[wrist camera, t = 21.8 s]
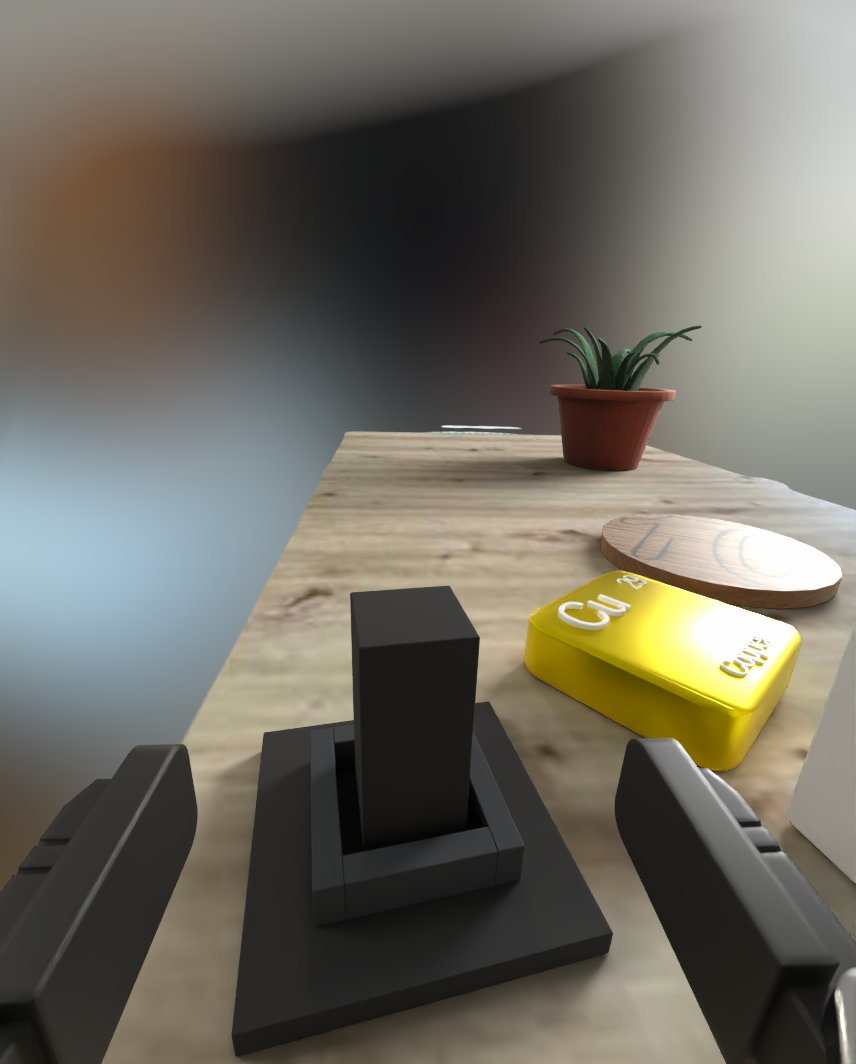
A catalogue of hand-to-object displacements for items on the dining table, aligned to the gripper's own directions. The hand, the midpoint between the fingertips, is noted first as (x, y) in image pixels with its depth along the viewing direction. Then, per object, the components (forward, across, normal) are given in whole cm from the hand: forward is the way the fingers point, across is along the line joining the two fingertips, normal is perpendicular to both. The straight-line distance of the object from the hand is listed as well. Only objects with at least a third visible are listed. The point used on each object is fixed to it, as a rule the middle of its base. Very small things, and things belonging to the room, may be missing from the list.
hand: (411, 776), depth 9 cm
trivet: (+46, -38, +15) cm, 61 cm away
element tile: (+23, -19, +15) cm, 34 cm away
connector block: (+11, 0, +14) cm, 18 cm away
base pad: (+11, 0, +15) cm, 18 cm away
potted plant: (+108, -49, +15) cm, 120 cm away
